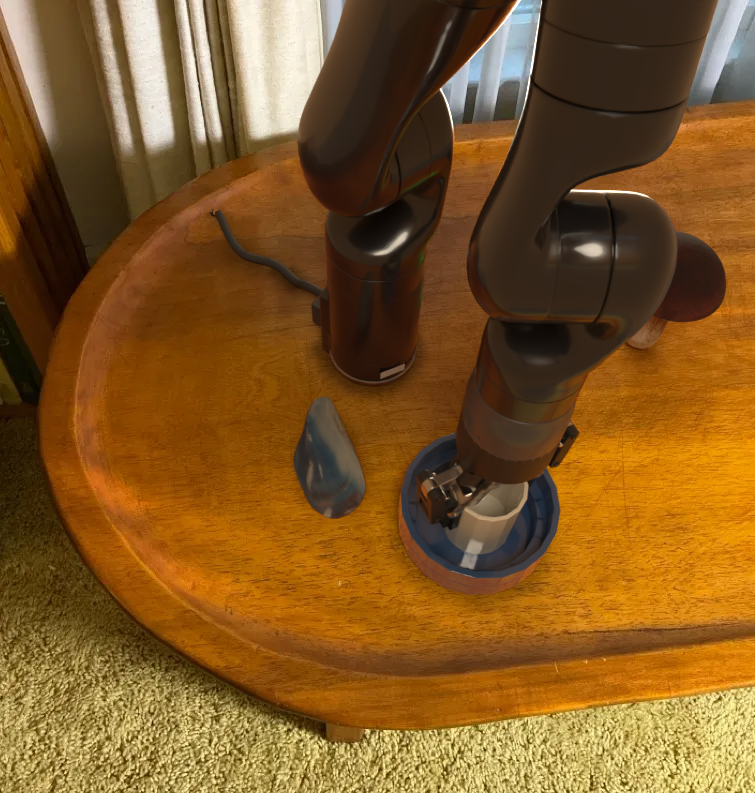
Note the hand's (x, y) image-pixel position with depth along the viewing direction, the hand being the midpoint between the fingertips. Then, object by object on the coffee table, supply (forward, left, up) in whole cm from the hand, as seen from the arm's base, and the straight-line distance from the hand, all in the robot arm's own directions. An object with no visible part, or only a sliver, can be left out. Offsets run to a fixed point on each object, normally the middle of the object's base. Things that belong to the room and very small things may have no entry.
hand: (482, 503), depth 69 cm
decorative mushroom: (+4, +29, -5) cm, 30 cm away
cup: (0, 0, -4) cm, 4 cm away
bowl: (0, 0, -5) cm, 5 cm away
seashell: (-14, -3, -5) cm, 15 cm away
